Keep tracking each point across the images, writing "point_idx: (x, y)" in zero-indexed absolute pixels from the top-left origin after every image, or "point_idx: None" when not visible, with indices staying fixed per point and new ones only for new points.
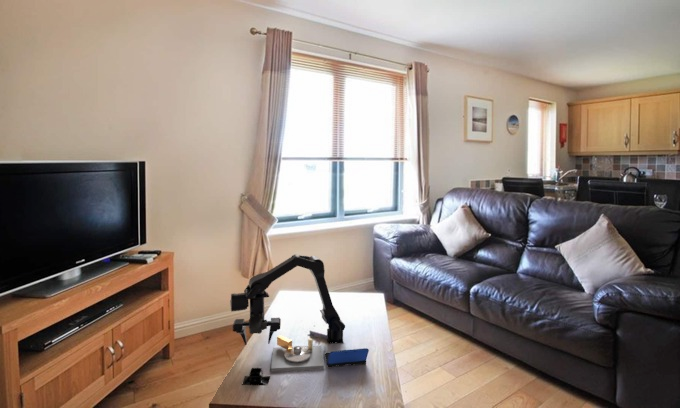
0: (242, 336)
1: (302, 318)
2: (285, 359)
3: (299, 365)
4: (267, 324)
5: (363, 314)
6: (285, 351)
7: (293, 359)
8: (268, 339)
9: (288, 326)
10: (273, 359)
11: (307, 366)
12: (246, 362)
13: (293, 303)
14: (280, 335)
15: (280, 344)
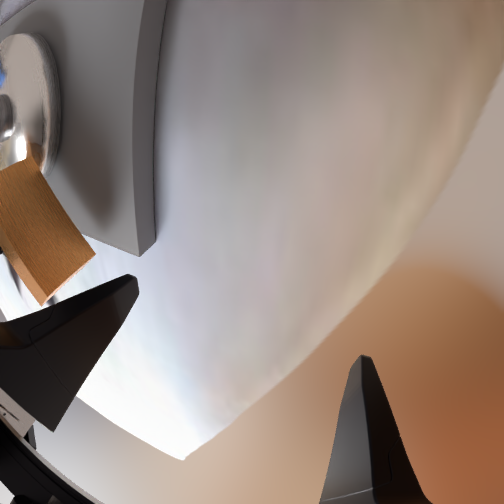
0: (402, 464)
1: (107, 383)
2: (60, 71)
3: (24, 18)
4: (2, 449)
5: (8, 308)
6: (40, 141)
7: (15, 37)
8: (97, 303)
9: (133, 380)
10: (123, 70)
11: (9, 19)
12: (396, 150)
13: (151, 433)
14: (39, 302)
15: (60, 230)
